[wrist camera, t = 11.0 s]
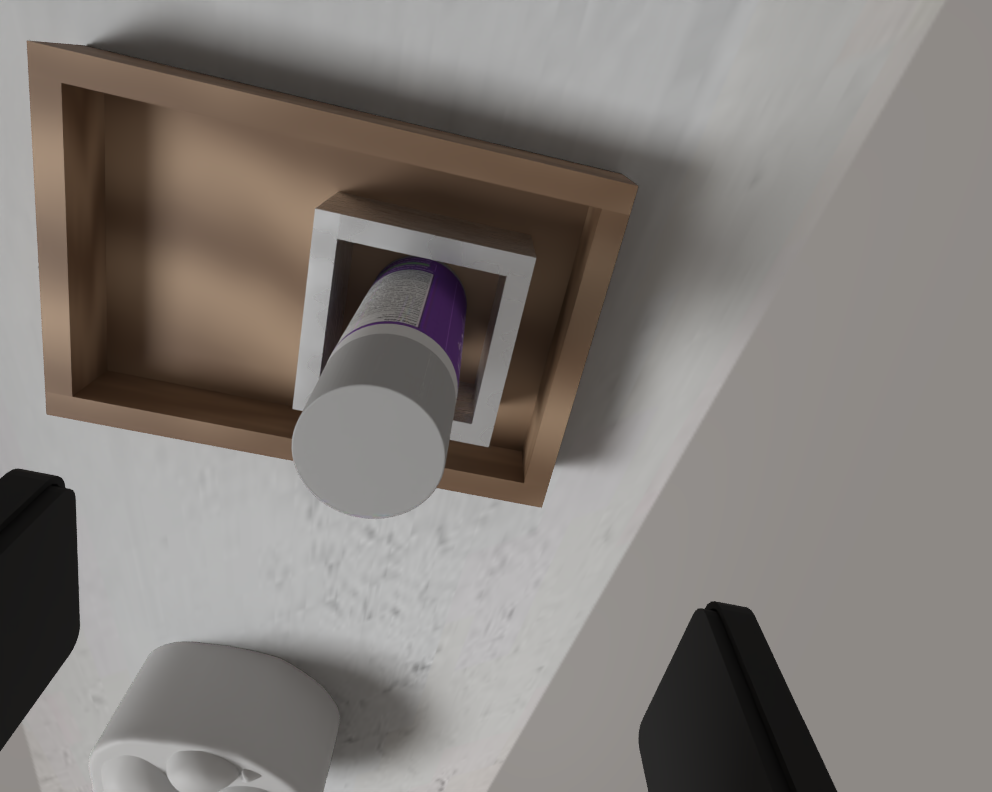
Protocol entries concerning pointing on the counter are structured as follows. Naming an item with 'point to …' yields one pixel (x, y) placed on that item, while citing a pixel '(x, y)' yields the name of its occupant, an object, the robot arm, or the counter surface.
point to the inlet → (426, 238)
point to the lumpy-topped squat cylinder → (217, 725)
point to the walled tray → (281, 255)
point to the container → (387, 395)
